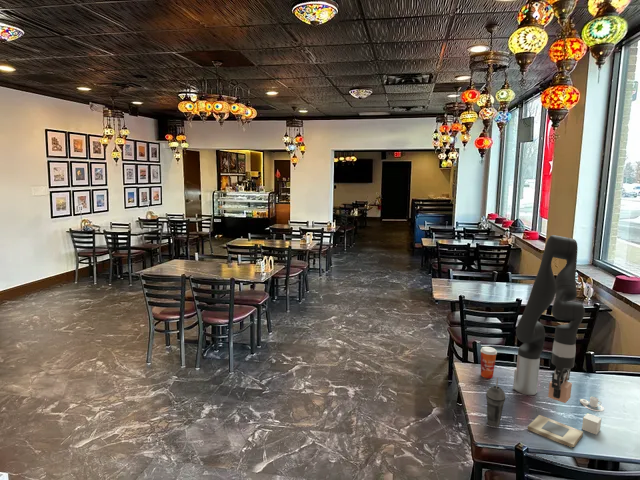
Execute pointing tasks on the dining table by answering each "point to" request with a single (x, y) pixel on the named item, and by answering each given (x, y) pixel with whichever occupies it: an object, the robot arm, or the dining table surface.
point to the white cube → (591, 423)
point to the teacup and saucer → (592, 403)
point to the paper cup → (487, 361)
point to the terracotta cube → (564, 393)
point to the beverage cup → (494, 404)
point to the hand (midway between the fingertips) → (559, 394)
